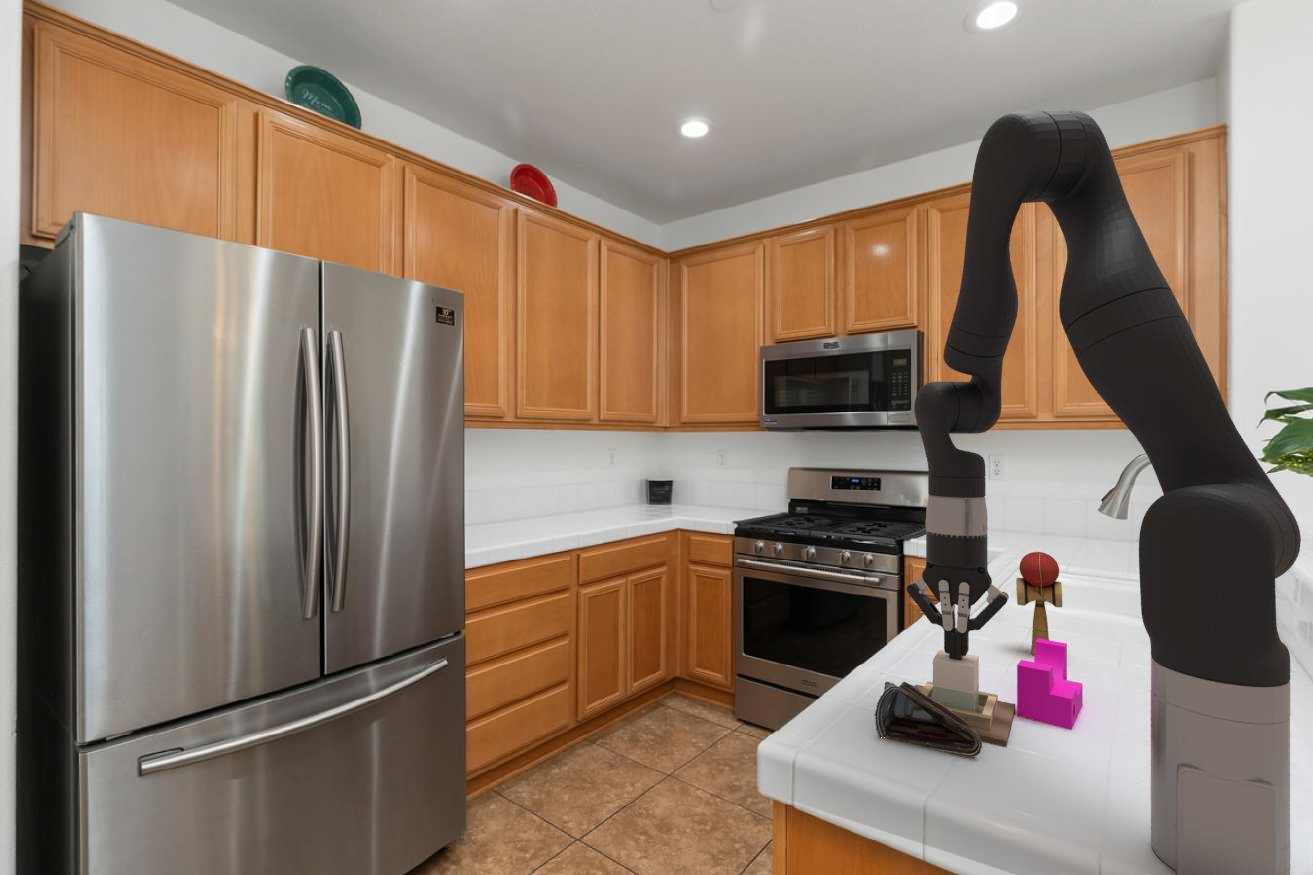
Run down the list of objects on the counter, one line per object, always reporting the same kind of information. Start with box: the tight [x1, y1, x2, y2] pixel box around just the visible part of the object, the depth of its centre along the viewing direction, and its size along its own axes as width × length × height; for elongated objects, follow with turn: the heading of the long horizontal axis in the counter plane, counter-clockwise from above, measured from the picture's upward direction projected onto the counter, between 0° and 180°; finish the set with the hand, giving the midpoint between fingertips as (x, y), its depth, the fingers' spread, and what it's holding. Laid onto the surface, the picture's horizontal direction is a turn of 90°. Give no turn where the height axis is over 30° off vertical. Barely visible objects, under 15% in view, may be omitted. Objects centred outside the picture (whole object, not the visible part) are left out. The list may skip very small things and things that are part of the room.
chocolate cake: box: [874, 681, 983, 758], centre depth 81 cm, size 10×7×12 cm
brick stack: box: [932, 649, 980, 713], centre depth 87 cm, size 5×5×7 cm
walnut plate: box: [914, 681, 1016, 748], centre depth 87 cm, size 13×13×3 cm
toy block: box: [1016, 639, 1084, 730], centre depth 91 cm, size 15×6×8 cm, turn 140°
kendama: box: [1015, 551, 1063, 656], centre depth 113 cm, size 8×6×18 cm
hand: (956, 657), depth 87 cm, fingers closed
